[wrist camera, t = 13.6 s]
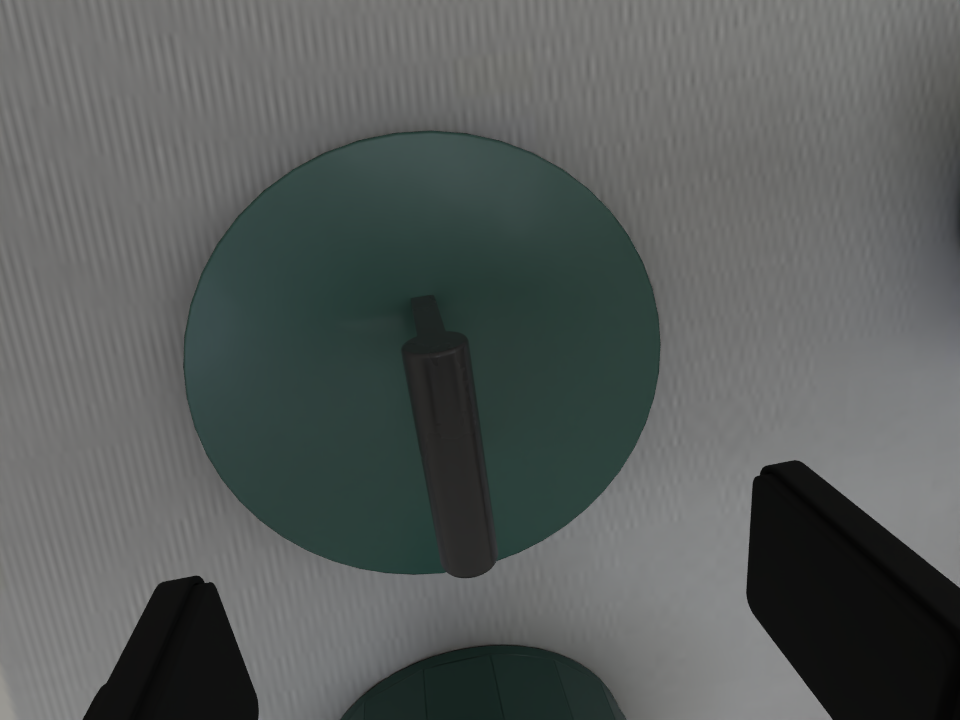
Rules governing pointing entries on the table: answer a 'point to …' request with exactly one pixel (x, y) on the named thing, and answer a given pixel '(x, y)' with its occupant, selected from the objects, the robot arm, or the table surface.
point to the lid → (422, 353)
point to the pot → (490, 689)
